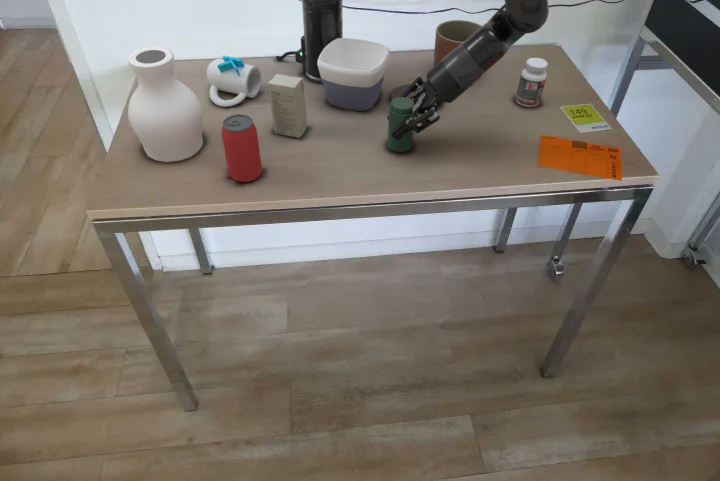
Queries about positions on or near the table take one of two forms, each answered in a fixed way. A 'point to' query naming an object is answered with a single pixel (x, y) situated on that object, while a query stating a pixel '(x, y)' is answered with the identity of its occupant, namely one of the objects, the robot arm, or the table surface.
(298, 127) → the cosmetic box
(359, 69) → the bowl
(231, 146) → the beer can
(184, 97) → the vase
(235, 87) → the mug
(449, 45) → the planter
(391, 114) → the jar
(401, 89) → the trivet
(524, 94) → the pill bottle
